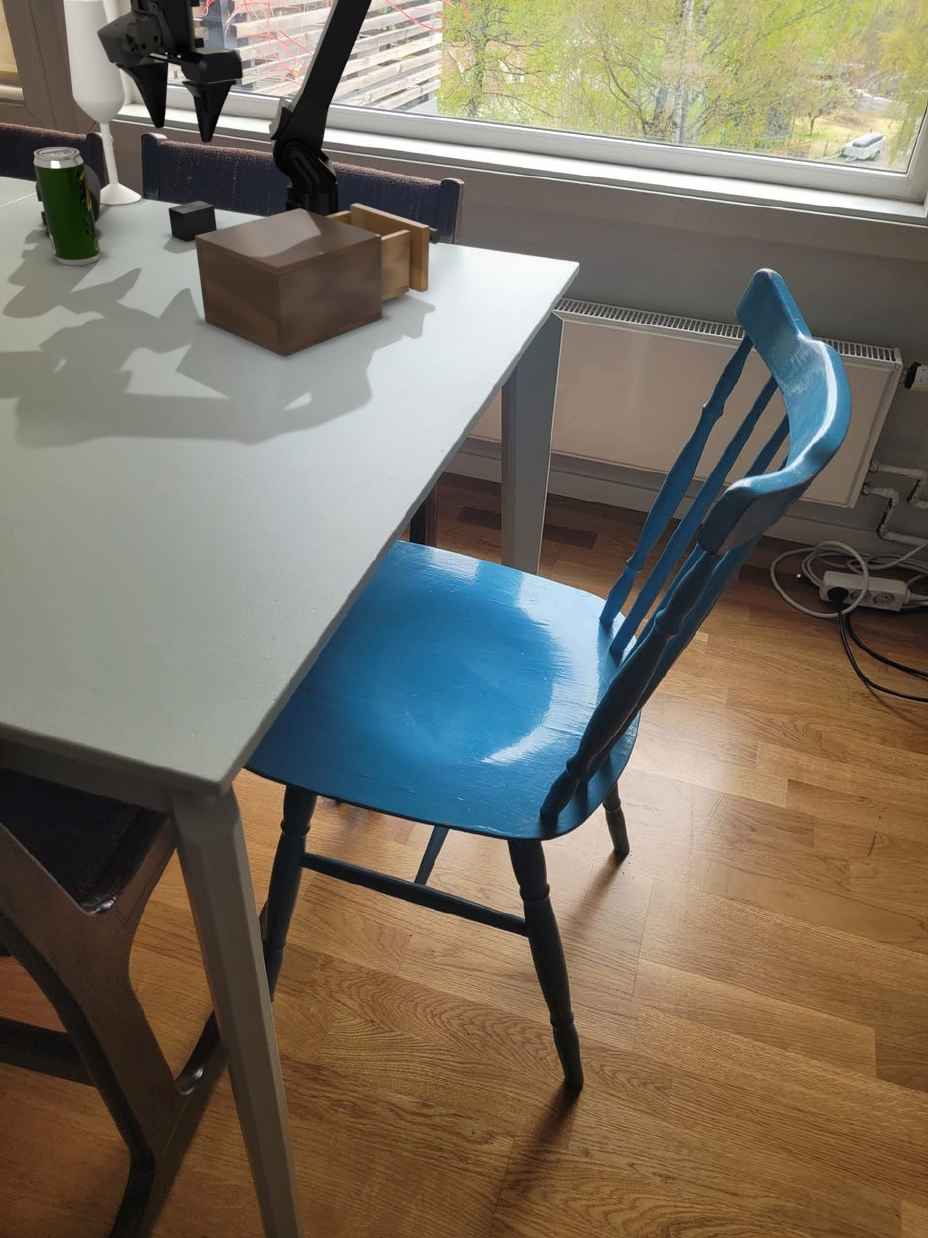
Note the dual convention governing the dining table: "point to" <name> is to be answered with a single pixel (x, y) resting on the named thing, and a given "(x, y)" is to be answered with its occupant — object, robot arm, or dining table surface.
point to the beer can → (67, 205)
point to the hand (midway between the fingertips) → (182, 134)
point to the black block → (192, 220)
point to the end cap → (93, 191)
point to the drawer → (396, 247)
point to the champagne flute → (96, 83)
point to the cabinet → (290, 279)
